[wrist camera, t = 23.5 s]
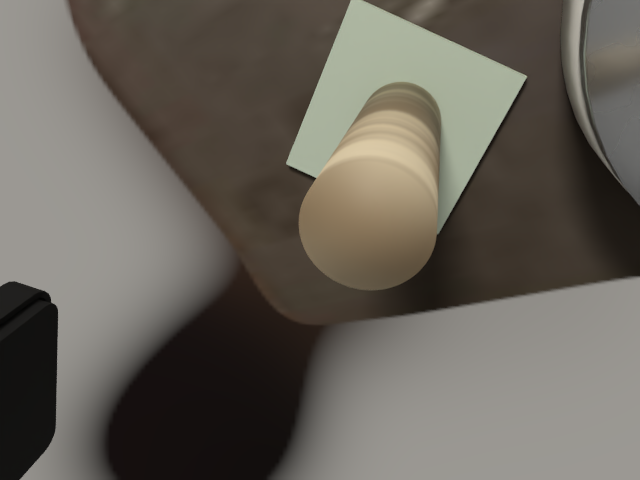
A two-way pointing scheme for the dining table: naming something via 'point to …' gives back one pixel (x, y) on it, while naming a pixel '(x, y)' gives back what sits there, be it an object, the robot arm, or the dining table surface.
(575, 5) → the chuck base
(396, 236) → the beige cylinder
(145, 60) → the dining table surface
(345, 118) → the mat
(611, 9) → the chuck collar
